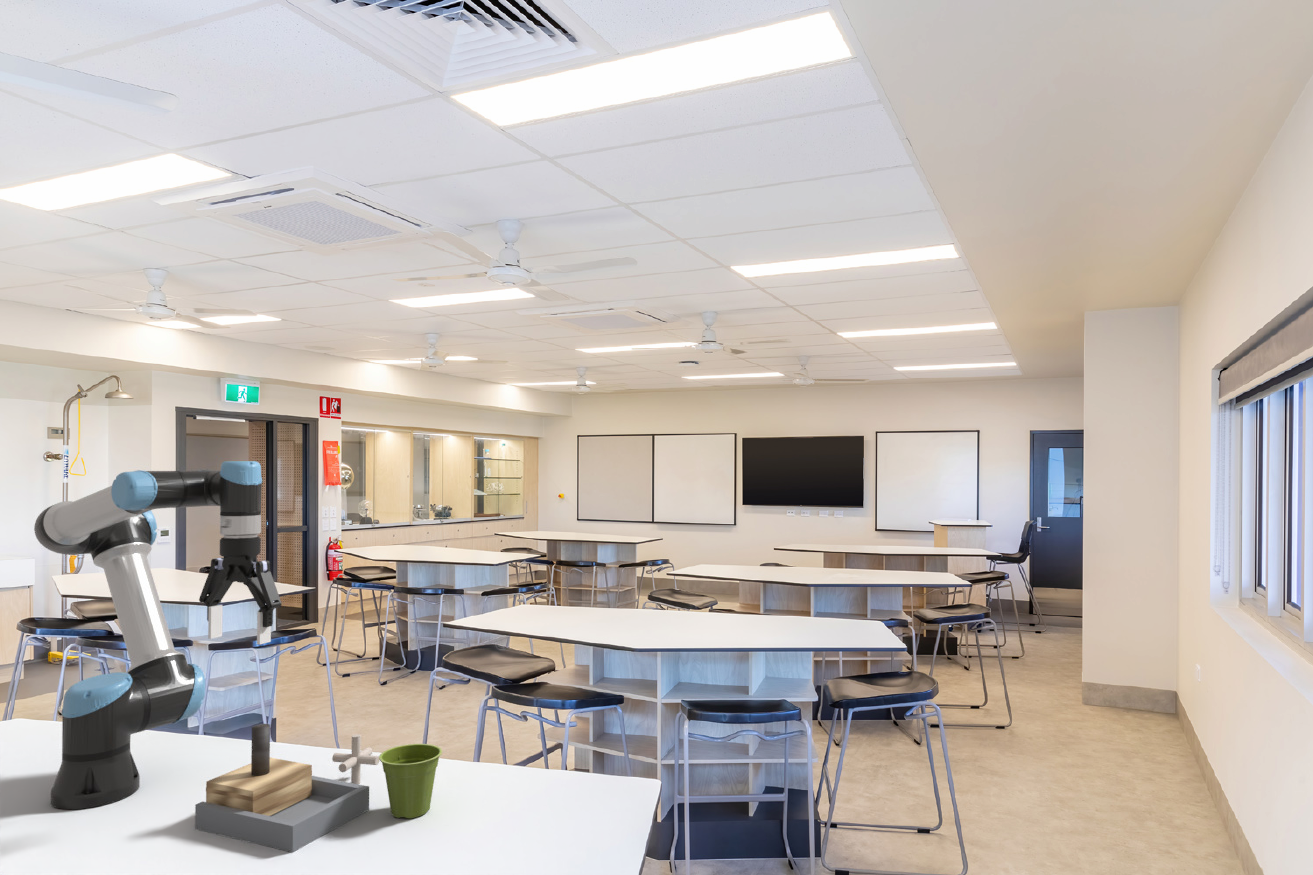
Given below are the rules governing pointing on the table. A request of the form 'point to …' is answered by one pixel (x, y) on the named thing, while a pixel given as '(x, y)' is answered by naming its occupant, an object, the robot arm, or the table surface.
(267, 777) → the wooden block with peg
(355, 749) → the pipe connector
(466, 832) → the table surface
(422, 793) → the plant pot
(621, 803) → the table surface
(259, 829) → the bay
